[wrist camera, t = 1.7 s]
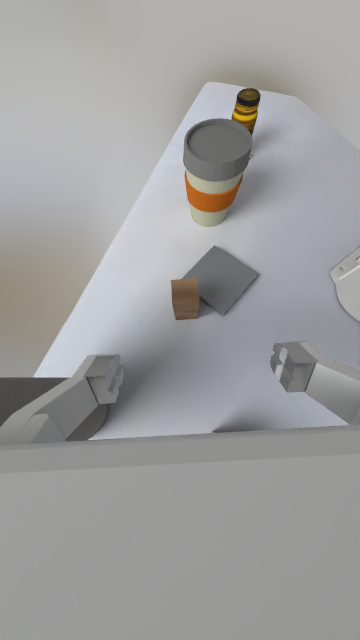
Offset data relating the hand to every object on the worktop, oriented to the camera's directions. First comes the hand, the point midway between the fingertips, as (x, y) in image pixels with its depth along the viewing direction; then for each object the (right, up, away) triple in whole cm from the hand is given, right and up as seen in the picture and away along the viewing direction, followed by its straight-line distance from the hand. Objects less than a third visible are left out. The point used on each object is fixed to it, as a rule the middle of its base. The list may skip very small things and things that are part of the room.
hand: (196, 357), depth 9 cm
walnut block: (0, +4, +29) cm, 29 cm away
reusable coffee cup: (+7, +30, +36) cm, 47 cm away
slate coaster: (+8, +11, +30) cm, 33 cm away
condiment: (+15, +51, +42) cm, 68 cm away
